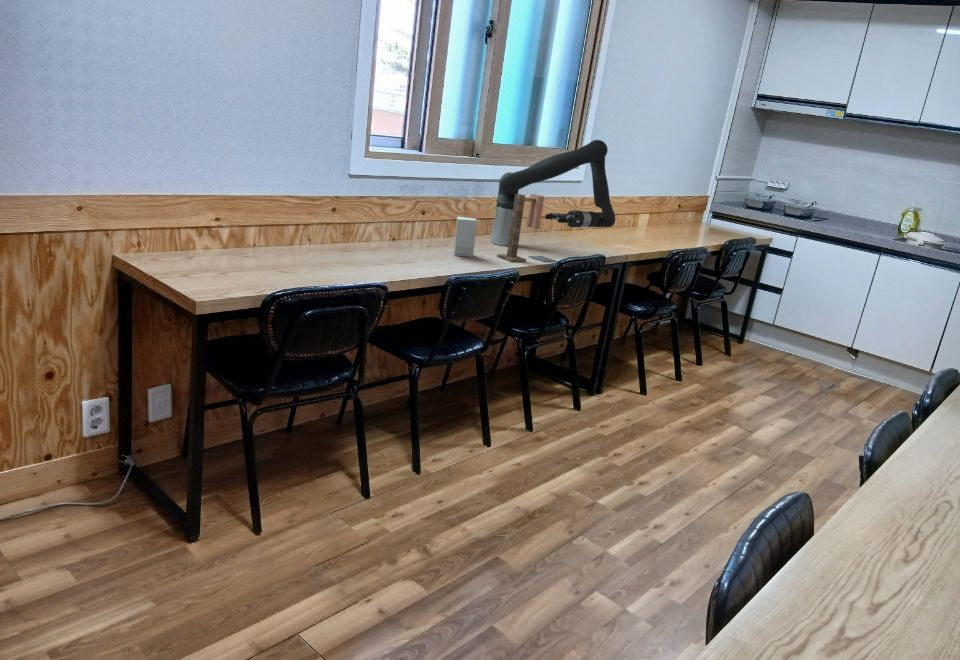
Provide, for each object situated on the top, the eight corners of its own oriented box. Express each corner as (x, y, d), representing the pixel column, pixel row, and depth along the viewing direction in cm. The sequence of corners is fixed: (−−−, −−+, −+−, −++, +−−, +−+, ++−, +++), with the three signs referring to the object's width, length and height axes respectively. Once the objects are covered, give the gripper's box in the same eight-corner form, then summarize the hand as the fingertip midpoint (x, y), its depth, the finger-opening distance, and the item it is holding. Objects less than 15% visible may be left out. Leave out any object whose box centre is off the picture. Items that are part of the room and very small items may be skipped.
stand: (496, 256, 318) (505, 192, 310) (526, 256, 328) (535, 193, 321) (511, 262, 310) (520, 196, 303) (541, 261, 321) (551, 197, 313)
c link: (525, 226, 320) (530, 194, 316) (531, 226, 322) (535, 194, 318) (534, 229, 316) (539, 196, 312) (539, 229, 317) (544, 196, 313)
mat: (528, 256, 327) (528, 256, 327) (541, 256, 332) (541, 255, 332) (543, 262, 320) (543, 261, 320) (556, 261, 325) (556, 260, 325)
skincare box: (472, 254, 315) (477, 218, 311) (473, 257, 309) (477, 220, 305) (453, 252, 315) (457, 216, 310) (453, 255, 308) (457, 218, 304)
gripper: (569, 207, 338) (542, 206, 328) (591, 213, 327) (564, 212, 317) (566, 224, 340) (540, 223, 330) (588, 230, 329) (561, 229, 319)
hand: (552, 218), depth 324 cm, fingers open, 8 cm apart
